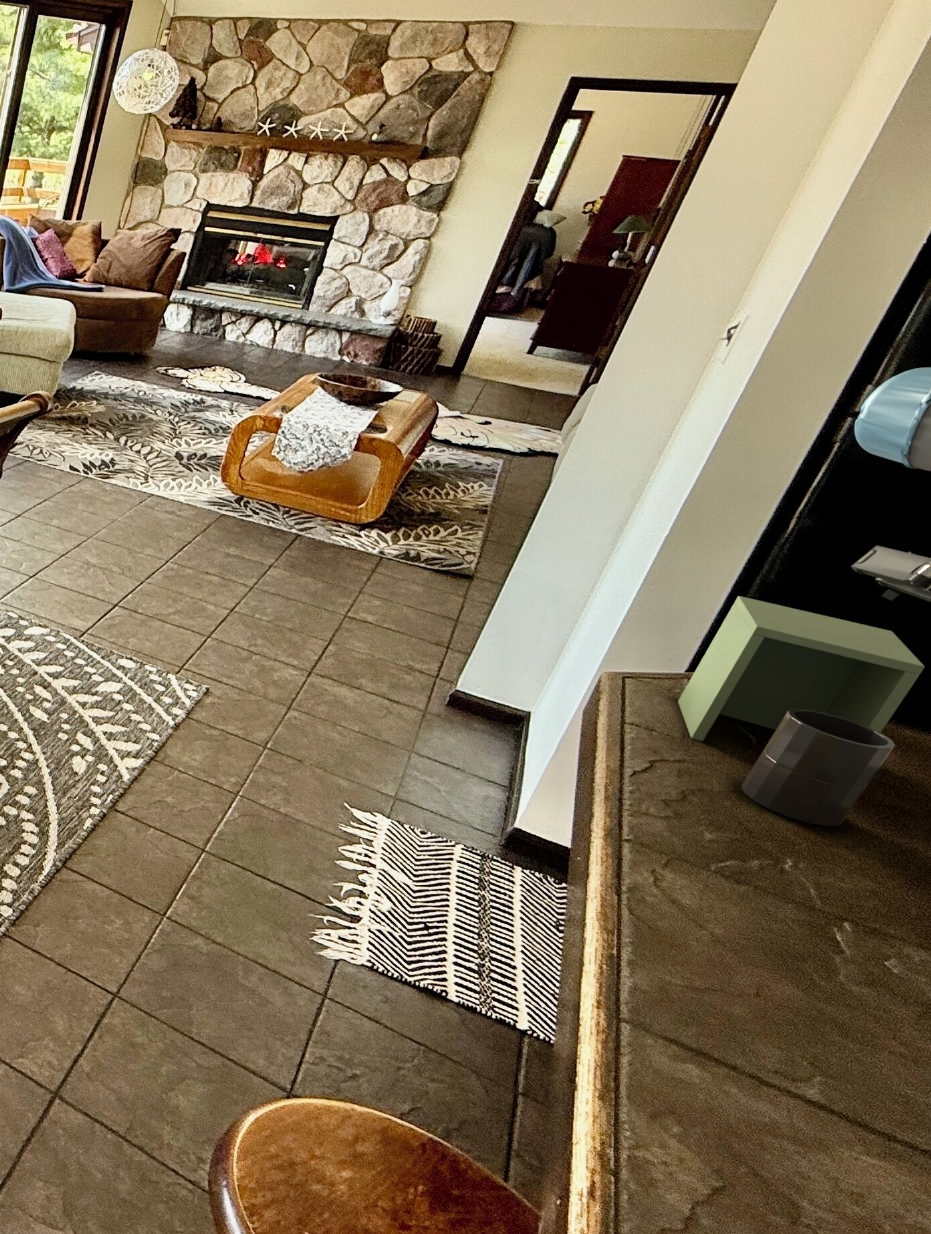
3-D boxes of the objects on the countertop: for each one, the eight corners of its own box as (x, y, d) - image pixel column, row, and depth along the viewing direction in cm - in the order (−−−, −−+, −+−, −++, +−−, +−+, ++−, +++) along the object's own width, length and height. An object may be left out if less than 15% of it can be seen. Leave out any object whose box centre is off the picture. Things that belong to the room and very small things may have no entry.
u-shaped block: (819, 743, 118) (892, 631, 112) (844, 785, 109) (925, 666, 103) (676, 703, 125) (738, 595, 119) (689, 740, 116) (756, 626, 110)
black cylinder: (828, 808, 105) (883, 728, 101) (845, 840, 100) (904, 756, 95) (733, 779, 109) (781, 701, 105) (745, 808, 104) (797, 727, 100)
